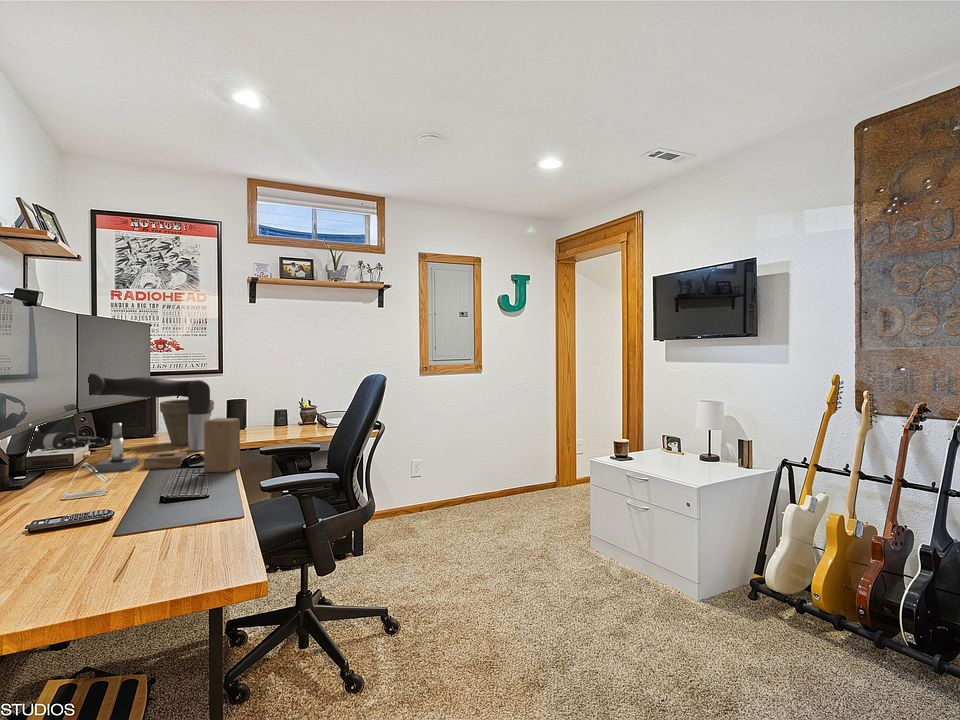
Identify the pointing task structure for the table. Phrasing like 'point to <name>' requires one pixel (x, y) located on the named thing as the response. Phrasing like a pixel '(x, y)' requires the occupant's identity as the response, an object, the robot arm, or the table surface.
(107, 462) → the grey socket
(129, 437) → the table surface
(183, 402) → the plant pot
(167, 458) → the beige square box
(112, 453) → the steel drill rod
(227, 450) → the wooden block
